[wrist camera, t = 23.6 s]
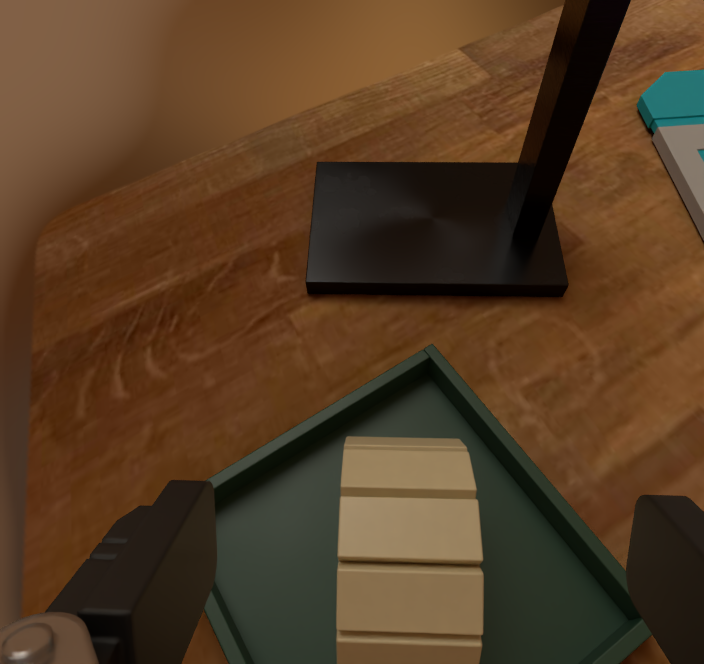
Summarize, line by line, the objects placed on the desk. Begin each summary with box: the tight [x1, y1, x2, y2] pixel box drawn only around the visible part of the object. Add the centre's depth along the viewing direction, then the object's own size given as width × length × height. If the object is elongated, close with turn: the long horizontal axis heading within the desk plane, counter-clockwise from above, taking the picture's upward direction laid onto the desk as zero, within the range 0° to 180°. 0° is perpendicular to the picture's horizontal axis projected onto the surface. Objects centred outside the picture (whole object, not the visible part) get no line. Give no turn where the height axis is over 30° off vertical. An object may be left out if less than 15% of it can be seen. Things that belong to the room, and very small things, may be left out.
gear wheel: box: [336, 436, 484, 664], centre depth 21 cm, size 4×8×8 cm, turn 178°
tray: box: [204, 344, 652, 664], centre depth 25 cm, size 15×15×2 cm
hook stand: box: [306, 0, 631, 297], centre depth 28 cm, size 15×10×19 cm, turn 88°
